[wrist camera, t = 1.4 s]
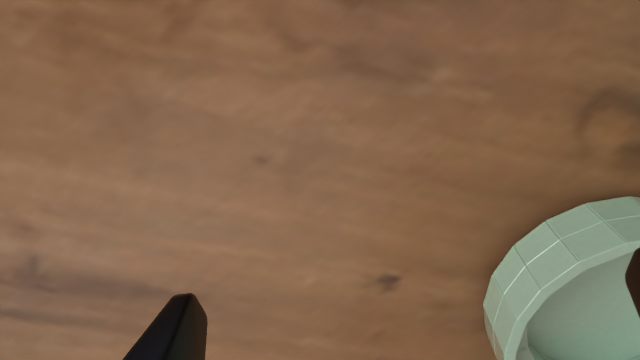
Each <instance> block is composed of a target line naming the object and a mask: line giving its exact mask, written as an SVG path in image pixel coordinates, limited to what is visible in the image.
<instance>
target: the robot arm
mask: <svg viewBox="0 0 640 360" xmlns="http://www.w3.org/2000/svg"><path fill="white" fill-rule="evenodd" d="M625 282H626V285H627V288H628V290H629V293H630V295H631V298H632V300H633V303H634V305H635V308H636V310H637V313H638V316H639V318H640V247H639V248H637V249H636V250H635V251H634V253H633V256H632V258H631V260H630V263H629V265H628V267H627V270H626V273H625ZM206 336H207V316H206V313H205V311H204V310H203V308H202V306H201V305H200V303H199V301H198V300H197V298H196V296H195V295H194V294H192V293H187V294H178V295H175V296H173V297H172V298H171V299H170V301H169V302H168V303H167V304H166V306H165V307H164V308H163V309H162V311H161V312H160V313H159V314H158V316H157V317H156V318H155V319H154V321H153V322H152V323H151V324H150V326H149V327H148V328H147V329H146V331H145V332H144V333H143V335H142V336H141V337H140V338H139V340H138V341H137V342H136V343H135V345H134V346H133V347H132V348H131V350H130V351H129V352H128V353H127V355H126V356H125V357H124V358H123V360H205V350H206Z"/></svg>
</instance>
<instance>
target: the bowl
mask: <svg viewBox="0 0 640 360" xmlns="http://www.w3.org/2000/svg"><path fill="white" fill-rule="evenodd" d="M639 247H640V197H631V196H629V197H627V196H626V197H620V198H614V199H608V200H602V201H595V202H589V203H585V204H582V205H580V206H577V207H575V208H573V209H570V210H568V211H566V212H563V213H561V214H559V215H556V216H554V217H552V218H549V219H547V220H546V222H545V221H544V222H543V223H541V224H540V225H539V226H537V227H536V228H535V229H534V230H532V231H531V232H530V233H528V234H527V235H526V236H525V237H523V238H522V239H521V240H519V241H518V242H517V243H515V244H514V246H512V248H511V249H510V250H509V252H508V253H507V255H506V256H505V257H504V259H503V260H502V261H501V263H500V264H499V266H498V267H497V268H496V270H495V271H494V272H493V274H492V276H491V280H490V283H489V286H488V290H487V293H486V296H485V299H484V304H483V307H484V317H485V327H486V333H487V335H488V338H489V340H490V343H491V346H492V348H493V351H494V353H495V356H496V358H497V360H640V318H639V316H638V313H637V310H636V308H635V305H634V303H633V300H632V298H631V295H630V293H629V290H628V288H627V285H626V282H625V273H626V270H627V267H628V265H629V263H630V260H631V258H632V256H633V253H634V251H635V250H636V249H637V248H639Z"/></svg>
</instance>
